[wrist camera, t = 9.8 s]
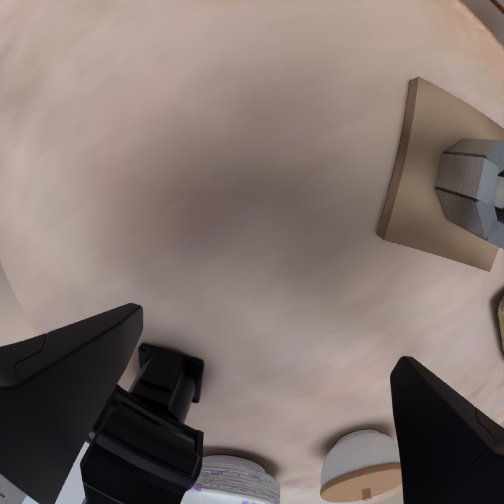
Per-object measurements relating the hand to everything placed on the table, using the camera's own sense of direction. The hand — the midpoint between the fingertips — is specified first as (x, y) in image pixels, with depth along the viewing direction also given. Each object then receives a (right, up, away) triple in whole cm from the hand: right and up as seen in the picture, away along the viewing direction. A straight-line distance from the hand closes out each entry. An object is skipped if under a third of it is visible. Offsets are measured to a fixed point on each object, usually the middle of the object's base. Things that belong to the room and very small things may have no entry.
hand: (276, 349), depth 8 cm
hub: (+15, +8, +7) cm, 18 cm away
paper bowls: (-4, -29, +24) cm, 38 cm away
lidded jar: (+13, -21, +20) cm, 32 cm away
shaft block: (+15, +9, +8) cm, 19 cm away
